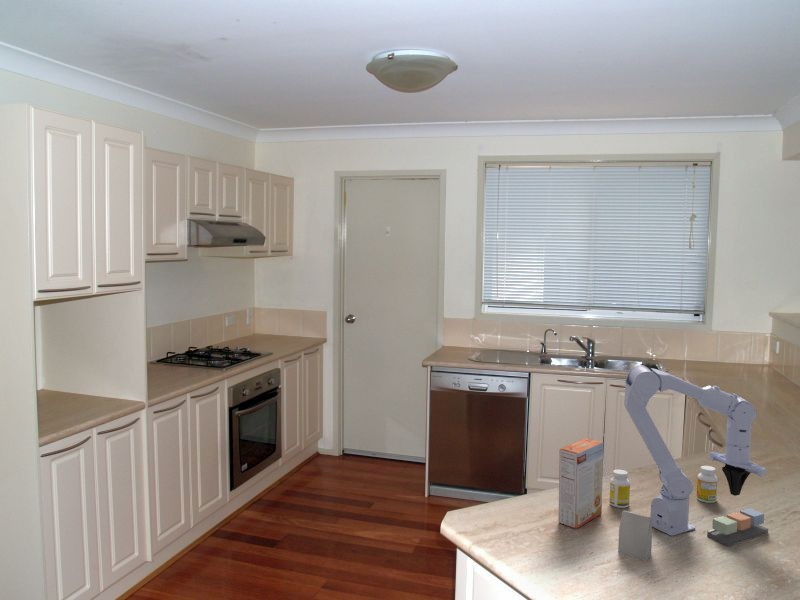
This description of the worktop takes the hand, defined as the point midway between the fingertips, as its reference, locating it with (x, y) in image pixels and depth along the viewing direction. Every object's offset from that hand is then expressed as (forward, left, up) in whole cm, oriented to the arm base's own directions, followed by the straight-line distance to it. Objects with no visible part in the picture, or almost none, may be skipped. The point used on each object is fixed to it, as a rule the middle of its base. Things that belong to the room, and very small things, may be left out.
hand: (735, 494), depth 169 cm
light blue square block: (+4, -2, -7) cm, 9 cm away
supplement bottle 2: (+12, +17, -10) cm, 23 cm away
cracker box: (-31, +24, -10) cm, 41 cm away
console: (-1, -2, -10) cm, 10 cm away
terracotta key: (-1, -2, -7) cm, 8 cm away
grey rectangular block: (-33, +3, -10) cm, 35 cm away
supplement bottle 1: (-14, +26, -10) cm, 31 cm away
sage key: (-7, -2, -7) cm, 10 cm away
